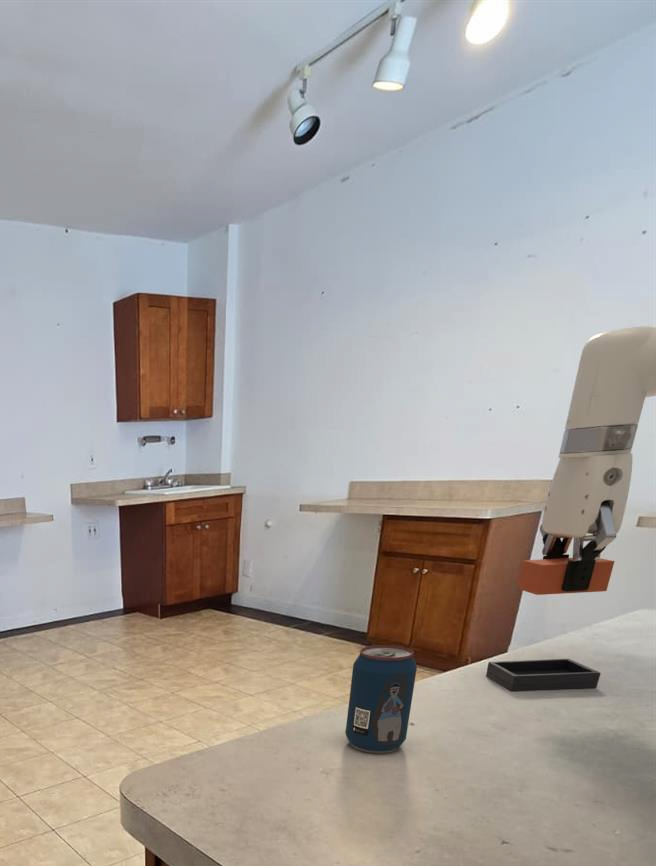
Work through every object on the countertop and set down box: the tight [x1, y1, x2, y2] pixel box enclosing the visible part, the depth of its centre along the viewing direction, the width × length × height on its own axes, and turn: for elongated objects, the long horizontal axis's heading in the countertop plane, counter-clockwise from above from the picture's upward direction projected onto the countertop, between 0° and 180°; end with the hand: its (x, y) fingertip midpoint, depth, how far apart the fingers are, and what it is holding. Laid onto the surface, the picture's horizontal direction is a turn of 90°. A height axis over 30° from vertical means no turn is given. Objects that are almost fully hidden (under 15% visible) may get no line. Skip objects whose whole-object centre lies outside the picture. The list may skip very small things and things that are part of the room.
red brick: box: [517, 557, 615, 596], centre depth 89 cm, size 9×5×4 cm, turn 85°
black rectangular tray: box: [485, 658, 602, 692], centre depth 96 cm, size 12×8×2 cm, turn 85°
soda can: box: [345, 644, 418, 754], centre depth 78 cm, size 7×7×12 cm
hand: (562, 585), depth 90 cm, fingers closed on red brick, 5 cm apart
